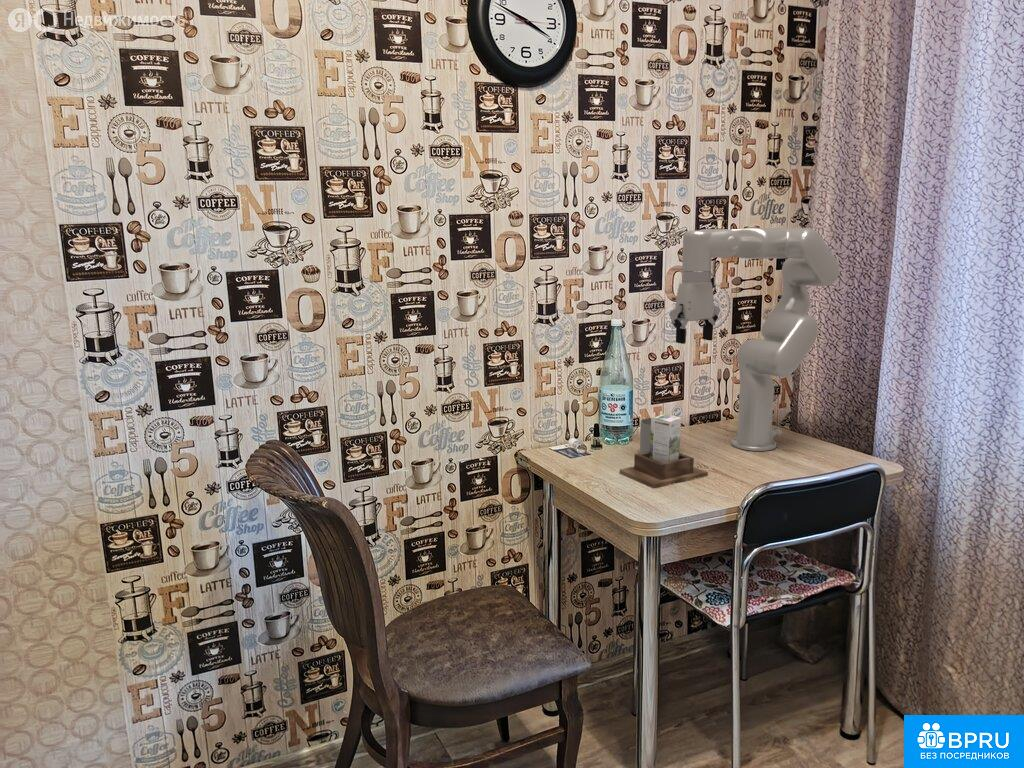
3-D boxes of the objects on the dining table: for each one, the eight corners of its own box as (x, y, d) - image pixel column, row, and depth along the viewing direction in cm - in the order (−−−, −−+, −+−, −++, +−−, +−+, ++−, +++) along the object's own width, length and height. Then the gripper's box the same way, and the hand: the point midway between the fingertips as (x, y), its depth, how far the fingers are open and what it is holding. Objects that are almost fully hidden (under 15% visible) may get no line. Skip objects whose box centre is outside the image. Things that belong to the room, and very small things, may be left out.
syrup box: (660, 465, 202) (661, 413, 199) (679, 470, 198) (681, 416, 195) (648, 471, 198) (650, 417, 195) (668, 475, 194) (670, 421, 191)
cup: (642, 460, 210) (643, 425, 208) (637, 451, 218) (637, 418, 216) (672, 459, 210) (673, 425, 208) (666, 451, 219) (667, 417, 217)
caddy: (671, 461, 208) (671, 444, 207) (707, 475, 197) (708, 457, 196) (619, 473, 200) (619, 455, 199) (654, 488, 188) (654, 469, 187)
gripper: (710, 275, 208) (707, 337, 211) (661, 278, 199) (660, 342, 203) (730, 276, 201) (727, 340, 205) (681, 280, 193) (679, 346, 196)
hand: (694, 341), depth 204 cm, fingers open, 9 cm apart
